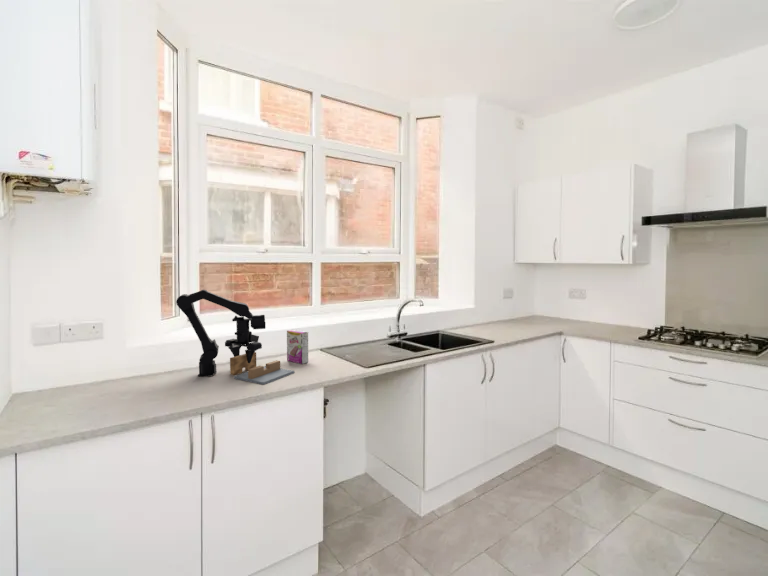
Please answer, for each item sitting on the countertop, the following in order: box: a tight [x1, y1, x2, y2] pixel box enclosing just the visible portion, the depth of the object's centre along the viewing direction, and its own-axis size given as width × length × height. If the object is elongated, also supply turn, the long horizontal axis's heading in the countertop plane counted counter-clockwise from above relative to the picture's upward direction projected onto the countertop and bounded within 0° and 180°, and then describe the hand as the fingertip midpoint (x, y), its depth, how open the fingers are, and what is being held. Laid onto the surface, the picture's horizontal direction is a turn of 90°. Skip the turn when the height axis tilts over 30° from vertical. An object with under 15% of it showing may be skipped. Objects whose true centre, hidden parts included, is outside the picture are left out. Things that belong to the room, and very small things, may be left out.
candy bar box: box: [286, 329, 309, 365], centre depth 210 cm, size 11×5×16 cm, turn 58°
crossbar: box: [229, 351, 257, 376], centre depth 193 cm, size 14×2×8 cm, turn 153°
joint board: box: [233, 359, 295, 385], centre depth 186 cm, size 20×18×5 cm
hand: (243, 362), depth 192 cm, fingers open, 7 cm apart
